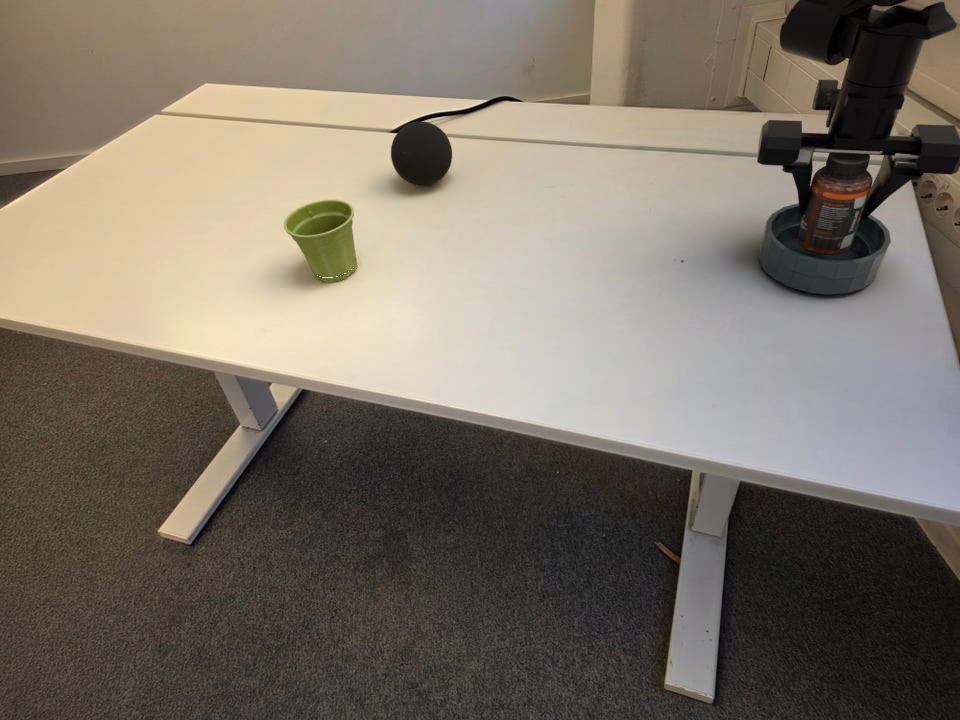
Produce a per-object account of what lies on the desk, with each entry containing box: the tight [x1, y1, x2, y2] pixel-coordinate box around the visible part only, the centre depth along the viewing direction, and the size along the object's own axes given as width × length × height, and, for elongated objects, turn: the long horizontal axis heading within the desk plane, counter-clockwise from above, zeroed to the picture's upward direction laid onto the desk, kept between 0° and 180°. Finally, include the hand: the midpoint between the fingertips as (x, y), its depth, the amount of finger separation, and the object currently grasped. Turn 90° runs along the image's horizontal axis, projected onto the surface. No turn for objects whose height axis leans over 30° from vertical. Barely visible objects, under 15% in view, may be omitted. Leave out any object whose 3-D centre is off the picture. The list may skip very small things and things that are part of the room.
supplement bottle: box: [798, 153, 874, 255], centre depth 69 cm, size 6×6×11 cm
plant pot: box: [283, 199, 358, 283], centre depth 84 cm, size 9×9×9 cm
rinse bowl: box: [758, 202, 892, 295], centre depth 74 cm, size 13×13×5 cm
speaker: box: [390, 120, 453, 187], centre depth 99 cm, size 10×10×10 cm
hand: (831, 215), depth 71 cm, fingers closed on supplement bottle, 6 cm apart
